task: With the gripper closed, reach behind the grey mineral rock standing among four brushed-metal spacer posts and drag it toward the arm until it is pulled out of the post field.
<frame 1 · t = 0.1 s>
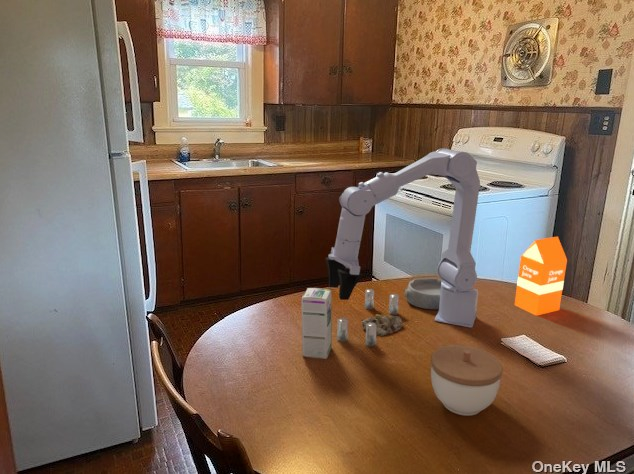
hand: (338, 292, 116), 10 cm above the table, tool pointing down, fingers open, 7 cm apart
lidded bowl: (461, 404, 92), on the table
spacer posts: (382, 327, 122), on the table
orange juice: (536, 308, 134), on the table
mineral rock: (382, 329, 122), on the table
syrup box: (316, 352, 110), on the table
dish: (429, 301, 138), on the table
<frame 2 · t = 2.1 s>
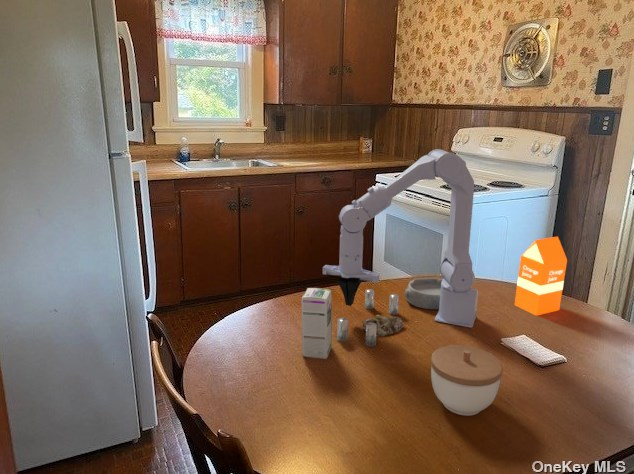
hand: (349, 304, 124), 5 cm above the table, tool pointing down, fingers closed
nothing on the table moved.
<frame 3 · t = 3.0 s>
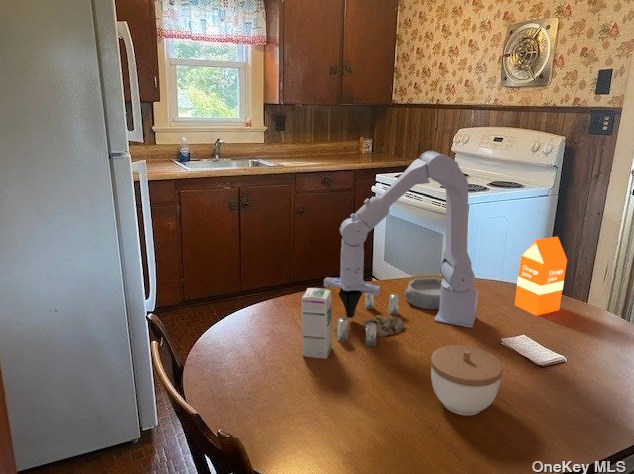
hand: (350, 316, 125), 1 cm above the table, tool pointing down, fingers closed
nothing on the table moved.
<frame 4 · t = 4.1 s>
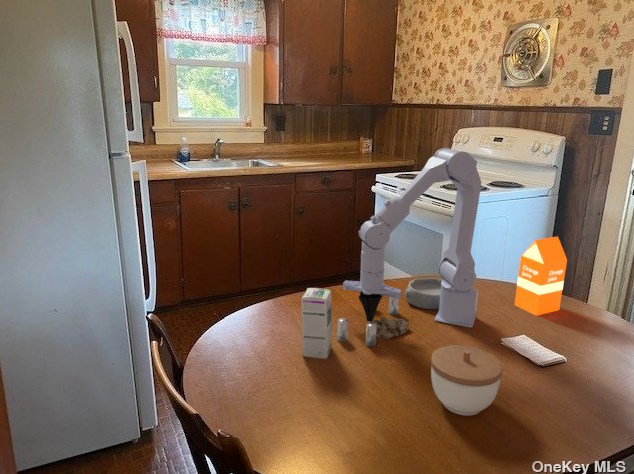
hand: (370, 319, 123), 1 cm above the table, tool pointing down, fingers closed
mineral rock: (388, 332, 120), on the table, touching gripper
everything else where it was.
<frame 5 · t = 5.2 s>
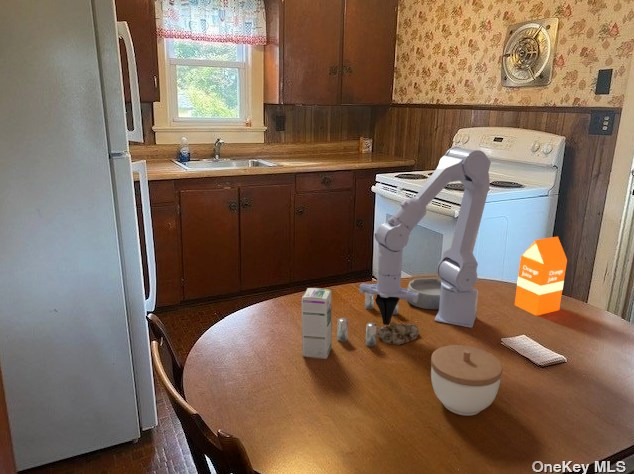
hand: (386, 323, 121), 1 cm above the table, tool pointing down, fingers closed
mineral rock: (398, 338, 118), on the table
everything else where it was.
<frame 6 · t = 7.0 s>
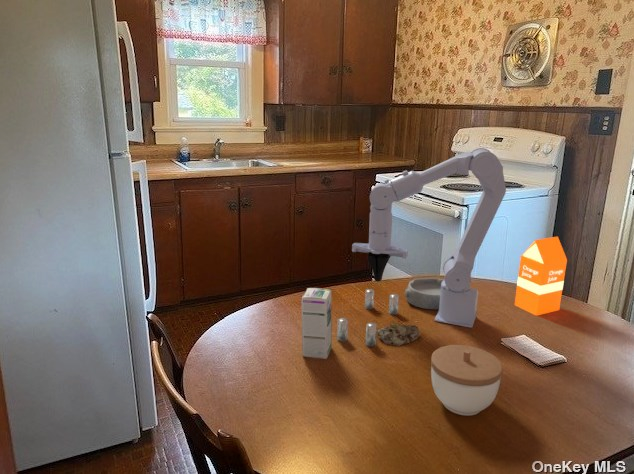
hand: (378, 280, 129), 9 cm above the table, tool pointing down, fingers closed
nothing on the table moved.
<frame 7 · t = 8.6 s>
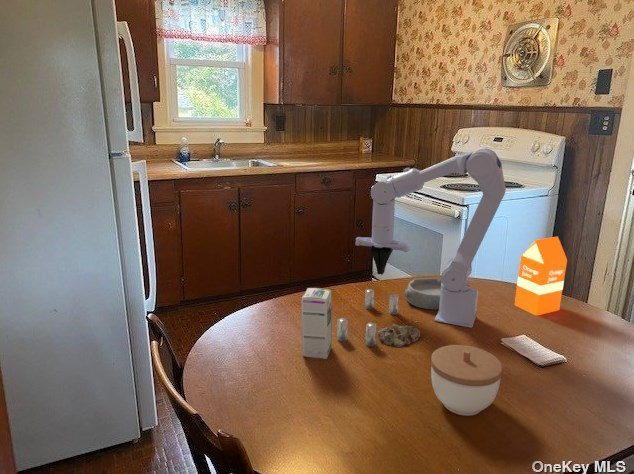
hand: (380, 273, 133), 9 cm above the table, tool pointing down, fingers closed
nothing on the table moved.
at the end: mineral rock moved 6.5 cm from its start; mineral rock inside the target area (3.9 cm from its centre), on the table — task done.
